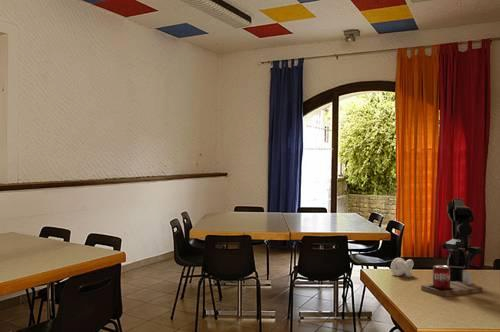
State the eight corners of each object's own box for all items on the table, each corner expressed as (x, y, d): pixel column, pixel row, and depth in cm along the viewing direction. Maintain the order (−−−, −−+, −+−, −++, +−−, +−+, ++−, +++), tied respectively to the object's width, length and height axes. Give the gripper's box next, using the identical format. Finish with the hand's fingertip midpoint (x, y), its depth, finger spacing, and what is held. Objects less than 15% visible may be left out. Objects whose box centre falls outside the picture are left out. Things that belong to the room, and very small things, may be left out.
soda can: (451, 295, 196) (452, 268, 196) (434, 294, 197) (435, 267, 197) (447, 291, 203) (448, 265, 203) (431, 290, 204) (431, 264, 204)
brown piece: (458, 285, 214) (458, 268, 214) (482, 291, 202) (482, 274, 202) (421, 289, 203) (421, 272, 203) (444, 297, 192) (444, 278, 192)
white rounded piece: (387, 276, 231) (388, 259, 231) (393, 272, 241) (393, 256, 241) (410, 279, 225) (410, 261, 225) (414, 275, 235) (414, 258, 235)
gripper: (434, 231, 211) (433, 263, 211) (467, 237, 194) (467, 272, 194) (450, 230, 216) (449, 262, 216) (484, 235, 199) (484, 270, 199)
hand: (461, 266), depth 206 cm, fingers open, 6 cm apart
